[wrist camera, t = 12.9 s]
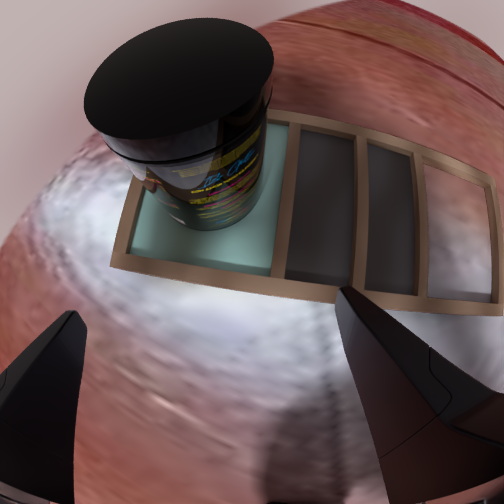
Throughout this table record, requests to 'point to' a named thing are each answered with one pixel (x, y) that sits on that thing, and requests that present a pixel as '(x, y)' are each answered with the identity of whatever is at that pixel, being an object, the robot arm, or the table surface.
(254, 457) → the table surface
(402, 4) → the table surface
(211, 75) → the supplement container
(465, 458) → the robot arm
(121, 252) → the compartment sorting tray
